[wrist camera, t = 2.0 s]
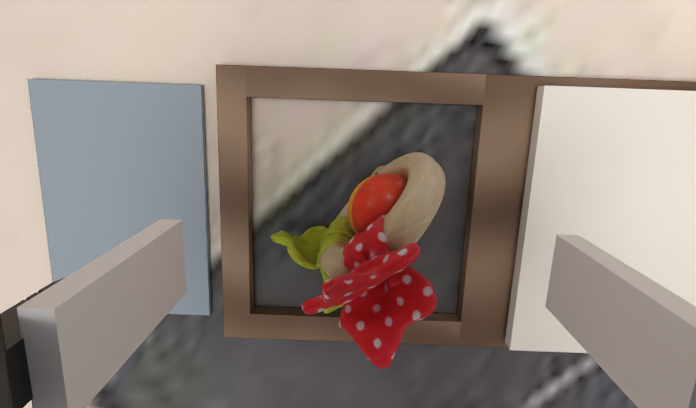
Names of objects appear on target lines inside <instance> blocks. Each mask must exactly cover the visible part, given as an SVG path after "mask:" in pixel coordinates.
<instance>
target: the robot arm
mask: <svg viewBox="0 0 696 408" xmlns="http://www.w3.org/2000/svg"><path fill="white" fill-rule="evenodd" d="M185 293H186V277H185V259H184V242H183V224H182V220H171V219H160V220H158V221H157V222H155V223H153V224H152V225H150V226H148V227H147V228H145V229H144V230H142V231H140V232H139V233H137V234H135V235H134V236H132V237H131V238H129V239H127V240H126V241H124V242H122V243H121V244H119V245H118V246H116V247H114V248H113V249H111V250H109V251H108V252H106V253H105V254H103V255H101V256H100V257H98V258H96V259H95V260H93V261H92V262H90V263H88V264H87V265H85V266H83V267H82V268H80V269H78V270H77V271H75V272H74V273H72V274H70V275H69V276H67V277H65V278H63V279H60V280H57V281H55V282H52V283H51V284H49V285H47V286H46V287H44V288H42V289H41V290H39V292H38V293H34V294H33V295H31V296H29V297H28V298H26V300H23V301H21V302H19V303H18V304H16V305H14V306H13V307H11V308H9V309H8V310H6V311H4V312H3V313H1V314H0V408H23V407H24V406H25V405H26V404H27V403H28V402H29V401H30V400H32V407H33V408H85V407H86V406H87V405H88V404H89V403H90V402H91V401H92V399H93V398H94V397H95V396H96V395H97V394H98V393H99V391H100V390H101V389H102V388H103V387H104V386H105V385H106V384H107V382H108V381H109V380H110V379H111V378H112V377H113V376H114V374H115V373H116V372H117V371H118V370H119V369H120V368H121V366H122V365H123V364H124V363H125V362H126V361H127V360H128V358H129V357H130V356H131V355H132V354H133V353H134V352H135V350H136V349H137V348H138V347H139V346H140V345H141V344H142V342H143V341H144V340H145V339H146V338H147V337H148V336H149V334H150V333H151V332H152V331H153V330H154V329H155V328H156V326H157V325H158V324H159V323H160V322H161V321H162V320H163V318H164V317H165V316H166V315H167V314H168V313H169V312H170V310H171V309H172V308H173V307H174V306H175V305H176V304H177V302H178V301H179V300H180V299H181V298H182V297H183V296H184V294H185ZM545 307H546V308H547V309H548V310H549V311H550V312H551V313H552V314H553V316H554V317H555V318H556V319H557V320H558V321H559V322H560V323H561V324H562V325H563V326H564V328H565V329H566V330H567V331H568V332H569V333H570V334H571V335H572V336H573V337H574V338H575V340H576V341H577V342H578V343H579V344H580V345H581V346H582V347H583V348H584V349H585V350H586V352H587V353H588V354H589V355H590V356H591V357H592V358H593V359H594V360H595V361H596V362H597V364H598V365H599V366H600V367H601V368H602V369H603V370H604V371H605V372H606V373H607V374H608V376H609V377H610V378H611V379H612V380H613V381H614V382H615V383H616V384H617V385H618V386H619V388H620V389H621V390H622V391H623V392H624V393H625V394H626V395H627V396H628V397H629V398H630V400H631V401H632V402H633V403H634V404H635V405H636V406H637V407H638V408H696V306H694V305H692V304H691V303H689V302H688V301H686V300H684V299H683V298H681V297H679V296H678V295H676V294H674V293H673V292H671V291H669V290H668V289H666V288H665V287H663V286H661V285H660V284H658V283H656V282H655V281H653V280H651V279H650V278H648V277H646V276H645V275H643V274H641V273H640V272H638V271H637V270H635V269H633V268H632V267H630V266H628V265H627V264H625V263H623V262H622V261H620V260H618V259H617V258H615V257H614V256H612V255H610V254H609V253H607V252H605V251H604V250H602V249H600V248H599V247H597V246H595V245H594V244H592V243H591V242H589V241H587V240H586V239H584V238H582V237H581V236H579V235H560V234H557V235H556V241H555V247H554V254H553V260H552V266H551V273H550V279H549V286H548V292H547V298H546V305H545Z"/></svg>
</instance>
